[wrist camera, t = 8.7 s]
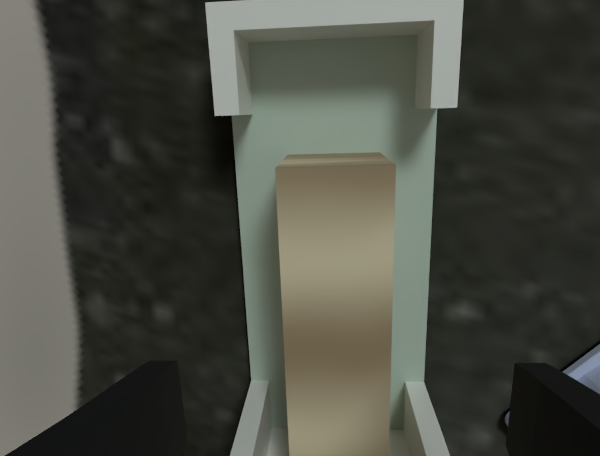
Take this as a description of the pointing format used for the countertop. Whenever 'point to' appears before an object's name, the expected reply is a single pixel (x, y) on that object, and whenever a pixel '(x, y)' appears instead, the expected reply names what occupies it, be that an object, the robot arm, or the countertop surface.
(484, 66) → the countertop surface
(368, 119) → the endcap rail
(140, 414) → the robot arm
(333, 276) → the tan rectangular block
